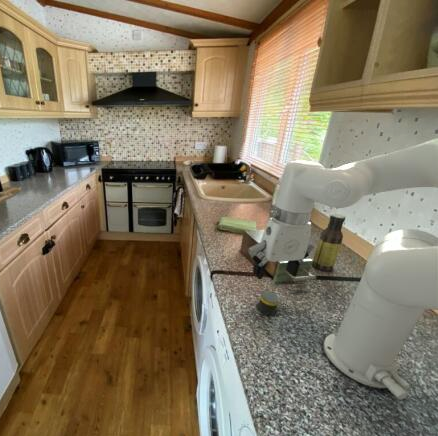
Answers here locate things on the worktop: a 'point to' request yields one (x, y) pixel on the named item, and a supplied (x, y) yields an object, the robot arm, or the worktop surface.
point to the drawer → (282, 275)
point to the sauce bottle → (329, 243)
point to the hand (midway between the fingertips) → (274, 274)
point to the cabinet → (251, 242)
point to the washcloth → (236, 225)
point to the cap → (268, 303)
